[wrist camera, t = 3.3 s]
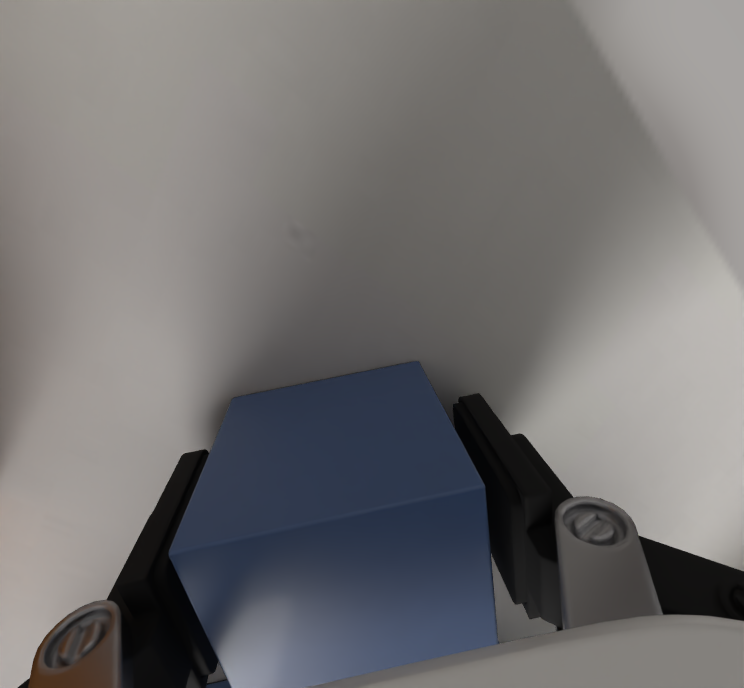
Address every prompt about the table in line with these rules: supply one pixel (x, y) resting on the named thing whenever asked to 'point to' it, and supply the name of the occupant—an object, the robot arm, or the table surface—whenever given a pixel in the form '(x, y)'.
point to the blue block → (337, 533)
